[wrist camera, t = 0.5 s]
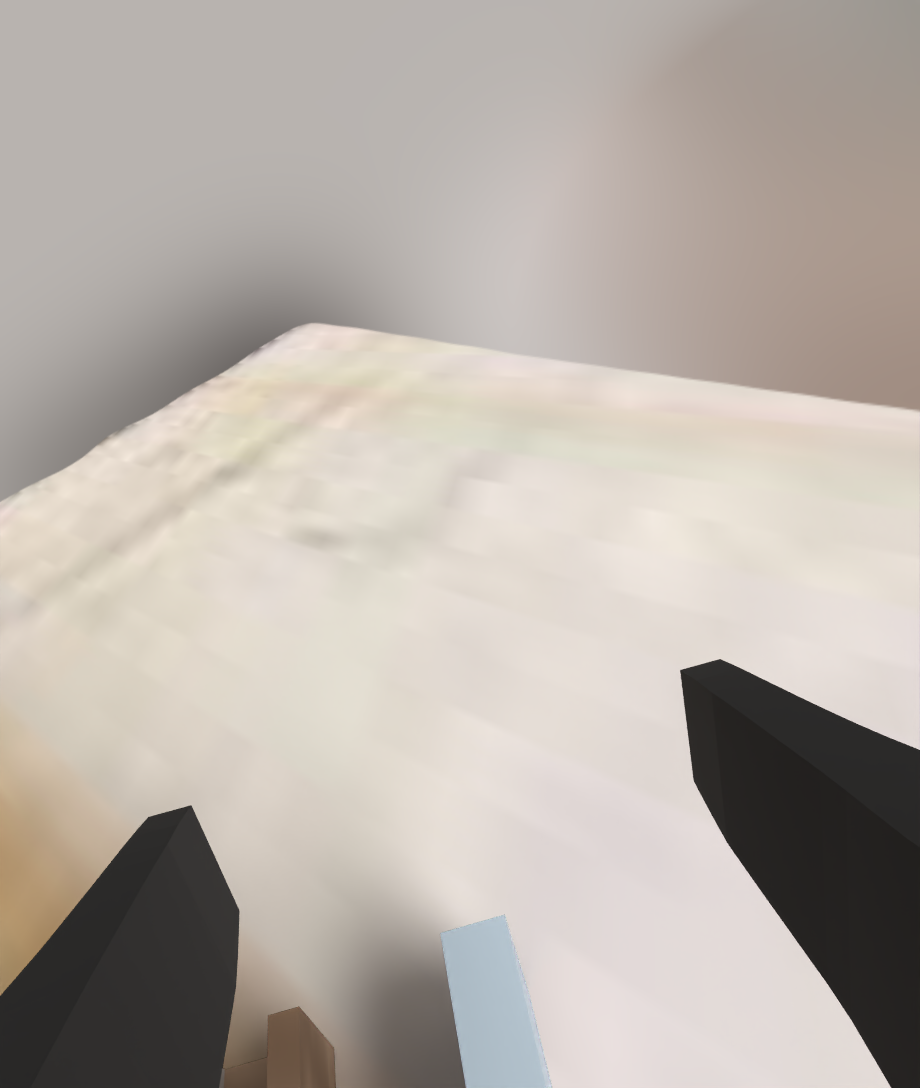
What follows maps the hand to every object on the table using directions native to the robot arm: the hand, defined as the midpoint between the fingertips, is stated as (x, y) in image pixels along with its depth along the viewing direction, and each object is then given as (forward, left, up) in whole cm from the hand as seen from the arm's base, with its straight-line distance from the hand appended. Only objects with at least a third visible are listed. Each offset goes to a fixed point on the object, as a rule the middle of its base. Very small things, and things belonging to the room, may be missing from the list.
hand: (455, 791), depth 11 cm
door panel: (0, +1, -19) cm, 19 cm away
